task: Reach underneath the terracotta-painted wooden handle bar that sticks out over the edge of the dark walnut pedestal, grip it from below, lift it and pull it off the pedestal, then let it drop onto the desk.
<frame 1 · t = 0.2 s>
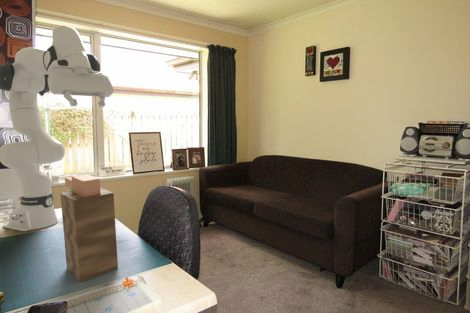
hand: (88, 105, 102), 54 cm above the table, tool tilted 30°, fingers open, 8 cm apart
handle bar: (80, 190, 104), point 26 cm above the table, touching walnut pedestal
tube: (78, 211, 163), on the table
walnut pedestal: (92, 268, 104), on the table
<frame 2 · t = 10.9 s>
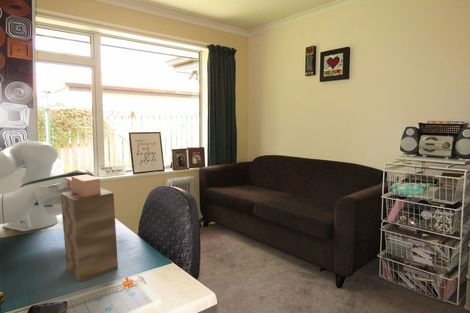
hand: (73, 181, 107), 28 cm above the table, tool pointing upward, fingers closed on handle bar, 3 cm apart
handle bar: (80, 190, 104), point 26 cm above the table, touching gripper, walnut pedestal
everything else where it was.
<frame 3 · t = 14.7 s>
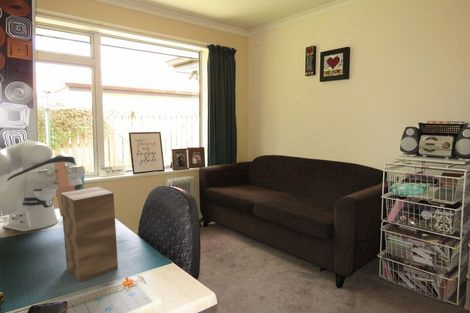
hand: (61, 167, 116), 31 cm above the table, tool pointing upward, fingers closed on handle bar, 3 cm apart
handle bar: (62, 189, 117), point 23 cm above the table, tilted 68°, touching gripper
everything else where it was.
when the fingers open (20 cm above the table, at t = 17.4 s): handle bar drops 12 cm, on the table.
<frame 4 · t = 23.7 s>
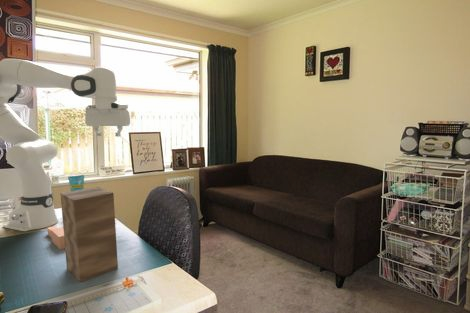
hand: (108, 136, 138), 41 cm above the table, tool pointing down, fingers open, 8 cm apart
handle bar: (58, 239, 127), on the table
everything else where it was.
at the end: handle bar inside the target area (12.9 cm from its centre), on the table; the gripper is holding nothing; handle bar touching table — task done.
